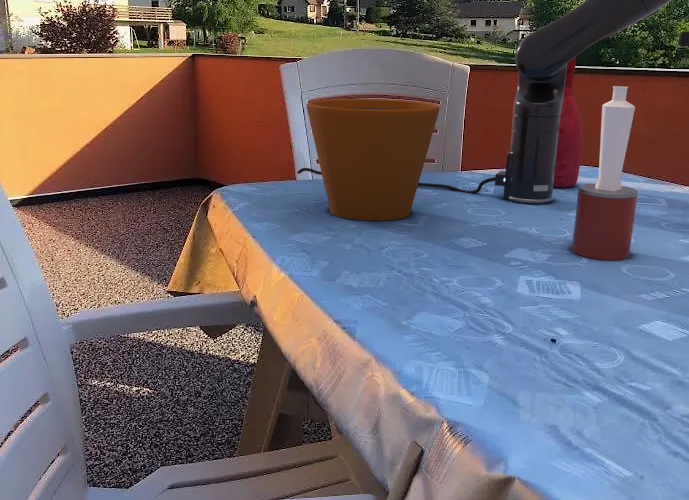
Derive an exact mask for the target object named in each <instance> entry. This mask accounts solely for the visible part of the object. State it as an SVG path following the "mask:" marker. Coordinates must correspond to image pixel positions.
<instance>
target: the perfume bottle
mask: <svg viewBox="0 0 689 500" xmlns="http://www.w3.org/2000/svg"><path fill="white" fill-rule="evenodd" d="M612 88H613V89H612V98H611V100H609V101H607V102H605V103H603V104H602V105H601V123H600V124H601V125H600V141H599V142H600V143H599V162H598V164H599V165H598V177H597V180H596V182H595V184H596V185H595V187H596V189H598V190H607V191H617V190H621V189H622V187H621V186H622V182H621V181H622V179H621V178H622V173H623V169H624V163H625V159H626V154H627V149H628V144H629V140H630V134H631V129H632V125H633V120H634V114H635V111H636V106H635V105H633V104H632V103H630V102H629V101H627V93H628V89H629V86H622V85H620V86H619V85H618V86H617V85H614V86H612Z"/></svg>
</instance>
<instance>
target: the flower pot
mask: <svg viewBox="0 0 689 500" xmlns="http://www.w3.org/2000/svg"><path fill="white" fill-rule="evenodd" d="M306 111H307V116H308V120H309V124H310V125H309V126H310V129H311V134H312V137H313V142H314V147H315V151H316V155H317V159H318V164H319V168H320V172H321V173H322V175H321V176H322V182H323V185H324V191H325V194H326V199H327V203H328V208H329V212H330V213H331V215H333V216H337V217H339V218H345V219H350V220H356V221H357V220H358V221H368V222H369V221H370V222H371V221H373V222H374V221H376V222H377V221H379V222H381V221H382V222H383V221H393V220H395V221H396V220H400V219H401V220H402V219H405V218H407V217H409V216H410V214H411V211H412V207H413V203H414V201H415V196H416V193H417V190H418V187H419V186H418V183H420V179H421V176H422V173H423V169H424V165H425V162H426V159H427V155H428V152H429V148H430V145H431V141H432V137H433V134H434V131H435V127H436V123H437V120H438V117H439V113H440V105H438V104H437V103H434V102H433V103H432V102H427V101H421V100H408V99H394V98H393V99H390V98H327V99H314V100H310V101H308V102H307V103H306Z"/></svg>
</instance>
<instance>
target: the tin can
mask: <svg viewBox="0 0 689 500" xmlns="http://www.w3.org/2000/svg"><path fill="white" fill-rule="evenodd" d="M595 185H596V183H584V184H580V185H579V186H578V190H577V191H578V192H577V199H576V209H575V218H574V226H573V237H572V245H571V251H572V252H573V253H574V254H576V255H578V256H581V257H584V258H588V259H592V260H600V261H619V260H620V261H621V260H626V259H628V258H629V257H630V253H631V246H632V238H633V230H634V224H635V216H636V208H637V202H638V194H639V190H637V189H635V188H634V187H630V186H625V185H621V187H622V189H621V190H617V191H607V190H598V189H596V187H595Z"/></svg>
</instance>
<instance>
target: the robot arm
mask: <svg viewBox="0 0 689 500" xmlns="http://www.w3.org/2000/svg"><path fill="white" fill-rule="evenodd" d="M672 1H673V0H584V1H583V2H582V3H581V4H579V5H578V6H577V7H575V8H574V9H573V10H571V11H569V12H568V13H566V14H565V15H563V16H561V17H559V18H557V19H555V20H554V21H552V22H550V23H548V24H546V25H545V26H543V27H541V28H539V29H537V30H535V31H533V32H531V33H529V34H527V35H526V36H525V37H524V38H523V39H522V40H521V41H520V42H519V44H518V45H517V48H516V51H515V55H514V56H515V57H514V61H515V66H516V68H517V70H518V75H517V77H518V78H517V89H516V92H515V97H514V101H513V105H512V106H513V107H512V121H511V131H510V132H511V134H510V143H509V144H510V145H509V151H508V152H507V153H506V159H505V160H506V161H505V170H499V172H497V173H495V176H493V177H489V178H485V179H483V180H482V181H480V182H479V184H478V186H477V187H476V189H472V190H466V189H461V188H458V187H455V186H452V185H449V184H441V183H430V182H419V183H418V187H427V188H439V189H447V190H451V191H454V192H459V193H466V194H471V195H472V194H474V195H475V194H479V192H481V190H482V189H483V188H482V187H483V186H484V185H486V184H487V183H491V182H494V186H495V187H496V186H498V187H503V195H502V196H503V197H502V199H503V200H508V201H512V202H516V203H522V204H547V203H551V202H552V201H553V193H554V187H553V182H554V173H555V163H556V153H557V144H558V134H559V124H560V114H561V107H562V102H563V96H564V87H565V79H566V70H567V63H568V62H569V61H571V60H572V59H573V58H575V57H576V58H577V57H578V56H579V55H580V54H582V53H583V52H584V51H585V50H587V49H588V48H590V47H591V46H592V45H595V44H596V43H597V42H600V41H601V40H603V39H605V38H608V37H610V36H613V35H614V34H616V33H618V32H620V31H622V30H625V29H626V28H629V27H630V26H633V25H634V24H636V23H638V22H640V21H642V20H644V19H645V18H647V17H648V16H650V15H652V14H653V13H655V12H657V11H658V10H659V9H661V8H662V7H664V6H666V5H667V4H670V2H672ZM677 44H678V46H679V47H689V31H681V32H680V33H679V35H678V43H677ZM303 172H309V173H312V174H315V175H320V176H322V173H321V170H320V171H319V170H315V169H313V168H310V167H302V168H300V169H299V170H297V172H296V174H297V175H298V174H302V173H303Z"/></svg>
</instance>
